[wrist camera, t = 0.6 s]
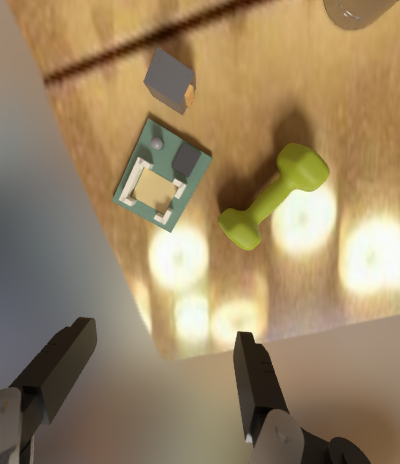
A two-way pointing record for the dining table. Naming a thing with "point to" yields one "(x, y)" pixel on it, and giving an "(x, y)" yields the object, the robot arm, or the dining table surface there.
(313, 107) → the dining table surface
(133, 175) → the board
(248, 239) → the dumbbell
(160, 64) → the plug
